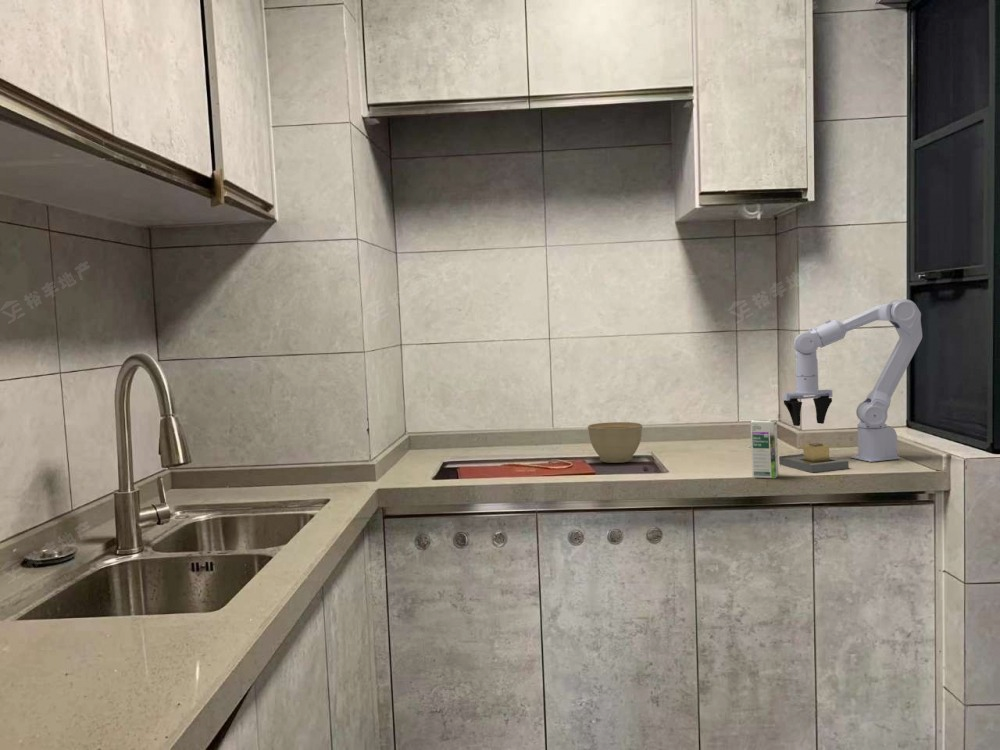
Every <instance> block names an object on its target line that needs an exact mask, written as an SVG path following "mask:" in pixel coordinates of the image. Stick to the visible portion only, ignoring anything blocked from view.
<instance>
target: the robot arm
mask: <svg viewBox="0 0 1000 750" xmlns="http://www.w3.org/2000/svg"><path fill="white" fill-rule="evenodd" d="M921 317H922V312H921V311H920V309H919V308H918V306H917V304H916V303H915V302H914V301H913V300H910V299H905V298H904V299H903V298H902V299H899V300H898V299H896V300H895V299H894V300H892V301H890V302H886V303H883V304H878V305H876V306H873V307H870V308H868V309H866V310H864V311H861V312H859V313H857V314H855V315H854V316H851V317H849V318H847V319H845V320H842V321H840V320H837V319H832V320H831V319H827V320H825V321H824V323H823V324H821V325H818V326H816V327H815V328H813V327H810V328H808V331H807V332H801V333H799V334H797V335H796V337H795V338H794V341H793V343H792V344H793V348H794V350H796V351H795V353H794V354H795V360H794V361H795V363H794V364H795V385H796V390H795V391H791V392H783V393H782V401H783V404H784V406H785V407H786V409H787V410H788V413H789V415H790V418H791V421H792V425H793V426H796V427H800V426H801V410H802V405H803V401H799V400H807V399H813V403H814V407H815V413H816V414H815V415H816V423H817V424H821V425H822V424H825V419H826V415H827V412H828V410H829V407H830V406H831V403H832V402H833V398H832V397H833V390H832V389H819V369H818V368H819V367H818V365H819V363H818V362H819V361H818V357H817V351H818V348H821V349H822V348H824V347H827V346H829V345H831V344H833V343H836V342H839V341H841V340H843V339H845V336H846V335H847V333H848V332H850V331H853V330H855V329H857V328H861V327H863V326H865V325H868V324H871V323H874V322H876V321H888V322H890V323H891V325H892V326H893V327H894V328H895V330H896V333H897V334H898V336H899V339H898V340H897V342H896V344H895V345H894V348H893V350H892V351H891V353H890V356H889V358H888V360H887V361H886V363H885V366H884V367H883V370H882V371H881V373H880V375H879V377H878V379H877V380H876V383H875V385H874V387H873V388H872V390H871V391H870V392H869V393H868V394H867V396H866V398H865V399H864V400H863V401H862V402H860V403H859V404H858V406H857V407H856V412H855V413H856V417H857V419H858V420H859V423H858V424H857V451H858V452H857V455H851V456H850V458H851V459H854V460H855V459H856V460H860V461H865V462H871V463H874V462H882V461H891V460H900V459H901V457H900V456H899V455H898V452H899V451H898V434H897V430H896V429H895V428H894V427H893V426H890V425H887V423H886V422H887V419H888V410H889V408H890V405H891V399H892V397H893V395H894V392H895V391H896V389H897V387H898V385H899V383H900V381H901V380H902V377H903V376H904V373H905V372H906V371H907V368H908V366H909V364H910V362H911V361H912V359H913V357H914V355H915V353H916V351H917V349H918V347H919V345H920V343H921V341H922V339H923V328H922V321H921Z"/></svg>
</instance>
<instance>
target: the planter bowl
mask: <svg viewBox="0 0 1000 750" xmlns="http://www.w3.org/2000/svg"><path fill="white" fill-rule="evenodd" d="M587 430H588V435H589V441H590V443H591V446H592V448H593V450H594V451H595V453H596V454H597V455H598V457H599V460H600V462H603V463H609V464H610V463H614V464H617V463H623V464H624V463H627V462H631V461H632V460H633V457H634V455H635V453H636V452H637V450H638V448H639V446H640V444H641V441H642V440H641V439H642V434H643V433H642V430H643V423H639V422H630V421H618V422H617V421H615V422H612V421H611V422H599V423H598V422H597V423H592V424H588V426H587Z"/></svg>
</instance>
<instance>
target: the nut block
mask: <svg viewBox="0 0 1000 750" xmlns="http://www.w3.org/2000/svg"><path fill="white" fill-rule="evenodd" d="M802 448H803V449H802V450H803V453H802V454H804V461H807V462H812V463H820V462H829V457H830V446H829V445H827V444H823V443H820V442H813V443H809V444H803V445H802Z"/></svg>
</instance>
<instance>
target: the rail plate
mask: <svg viewBox="0 0 1000 750" xmlns="http://www.w3.org/2000/svg"><path fill="white" fill-rule="evenodd" d="M779 464H780V466H784V467H788V468H792V469H796V470H800V471H803V472H807V473H813V474H814V473H824V472H830V471H840V470H849V469H850V467H849V459H840V458H836V457H831V456H829V462H820V463H812V462H807V461H804V453H797V454H796V453H795V454H789V455H778V465H779Z"/></svg>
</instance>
